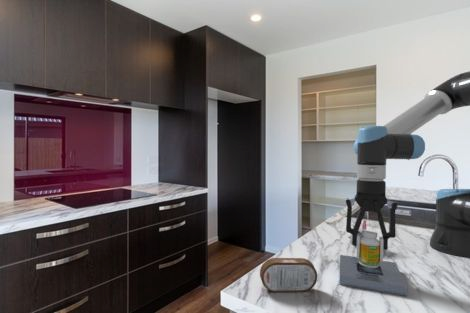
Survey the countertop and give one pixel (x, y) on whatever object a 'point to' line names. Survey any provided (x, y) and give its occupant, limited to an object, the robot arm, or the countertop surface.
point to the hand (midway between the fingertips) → (369, 258)
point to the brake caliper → (358, 232)
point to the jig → (372, 276)
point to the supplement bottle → (369, 249)
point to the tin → (288, 275)
